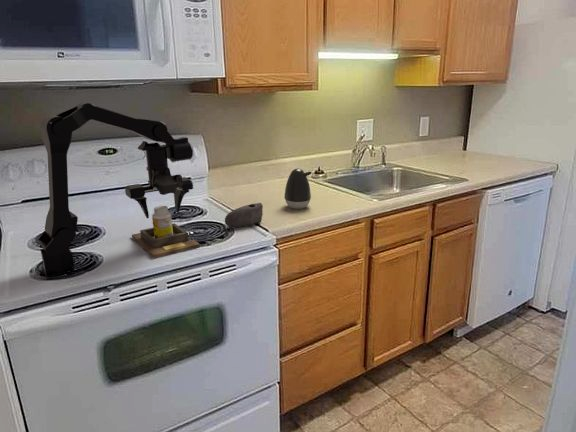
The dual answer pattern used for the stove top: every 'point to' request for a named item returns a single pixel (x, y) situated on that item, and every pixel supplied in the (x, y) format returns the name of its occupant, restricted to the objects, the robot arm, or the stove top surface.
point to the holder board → (164, 242)
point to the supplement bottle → (162, 222)
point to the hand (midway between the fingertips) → (162, 215)
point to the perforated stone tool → (245, 215)
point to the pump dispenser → (297, 189)
